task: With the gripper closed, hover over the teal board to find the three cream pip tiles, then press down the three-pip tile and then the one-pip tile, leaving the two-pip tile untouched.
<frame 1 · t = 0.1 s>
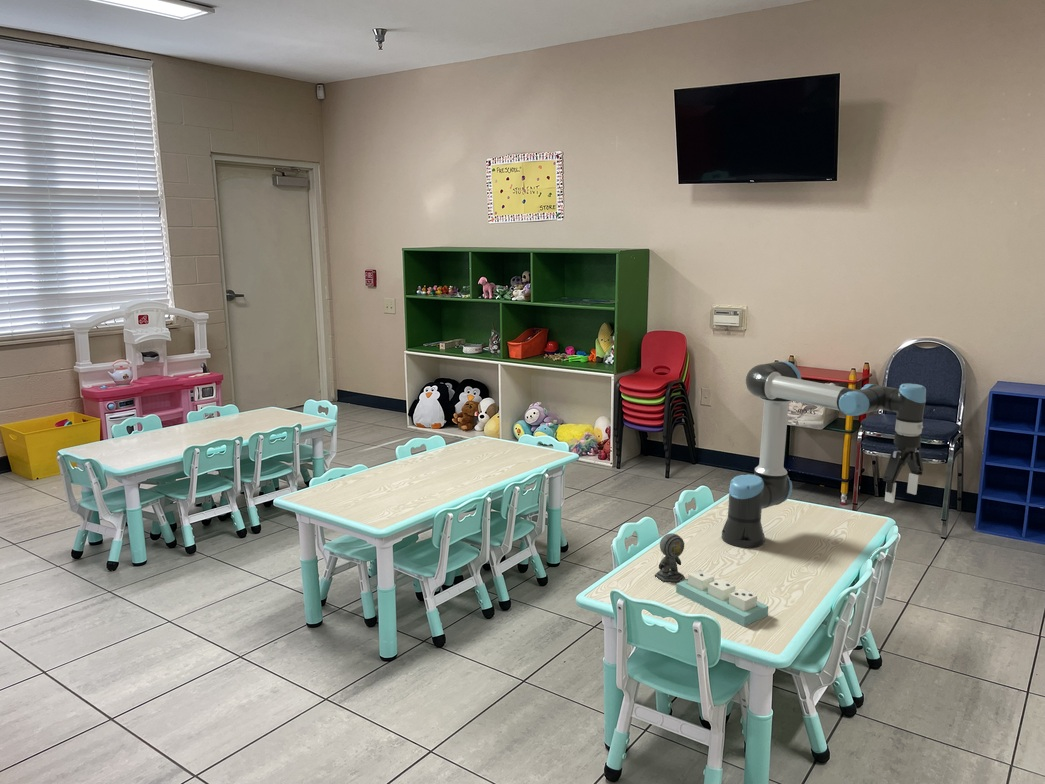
hand: (900, 497, 248), 28 cm above the table, fingers open, 13 cm apart
figurine: (669, 577, 254), on the table
tile 2: (721, 590, 235), point 4 cm above the table, slide at 0.0 cm
board: (720, 603, 236), on the table
tile 3: (742, 600, 229), point 4 cm above the table, slide at 0.0 cm
tile 1: (701, 580, 241), point 4 cm above the table, slide at 0.0 cm
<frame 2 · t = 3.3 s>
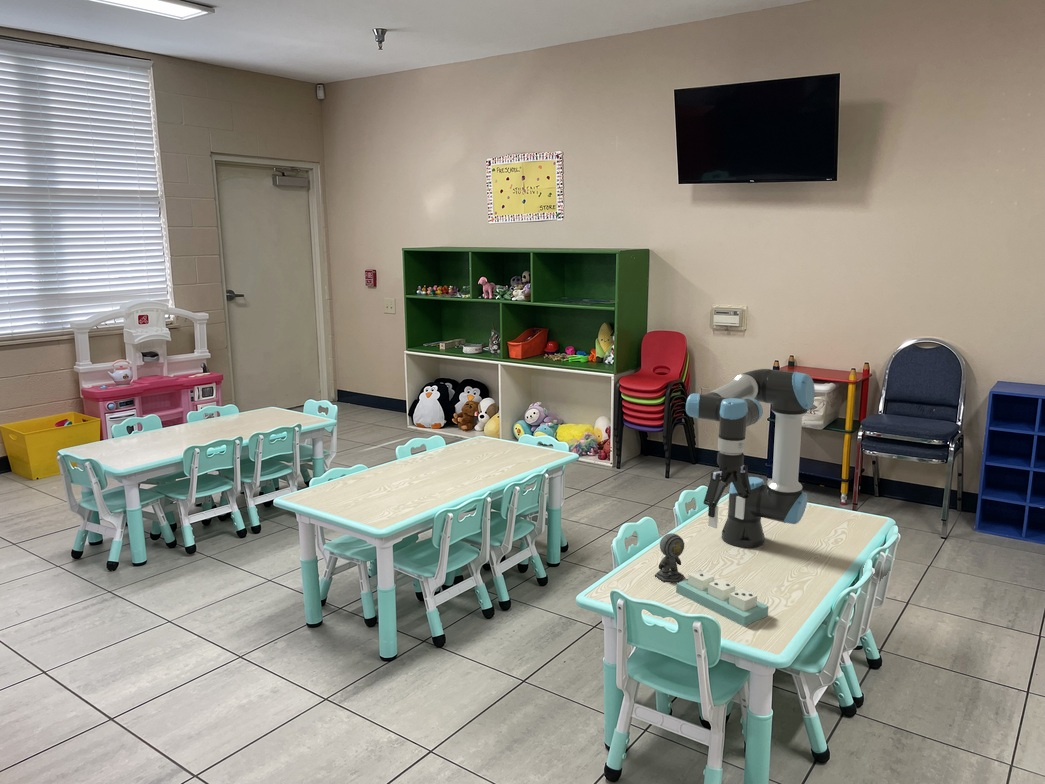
hand: (726, 522, 231), 26 cm above the table, fingers open, 11 cm apart
nothing on the table moved.
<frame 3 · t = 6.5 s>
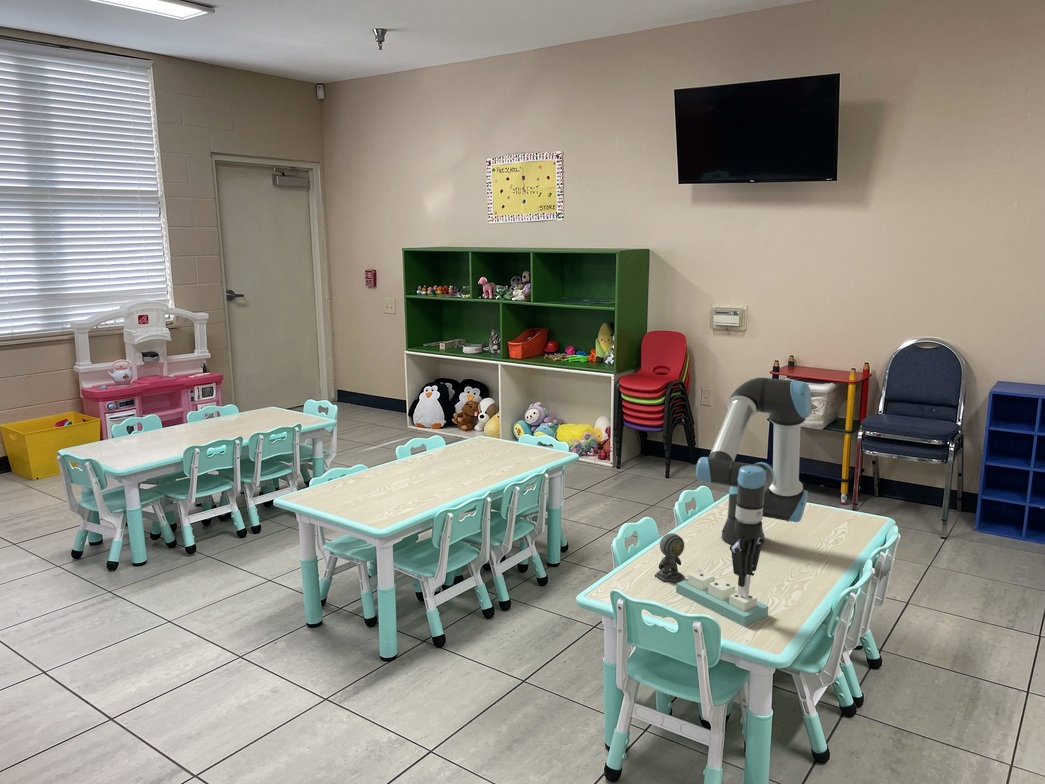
hand: (743, 595, 228), 6 cm above the table, fingers closed
tile 3: (742, 602, 229), point 4 cm above the table, slide at 0.6 cm, touching gripper
everything else where it was.
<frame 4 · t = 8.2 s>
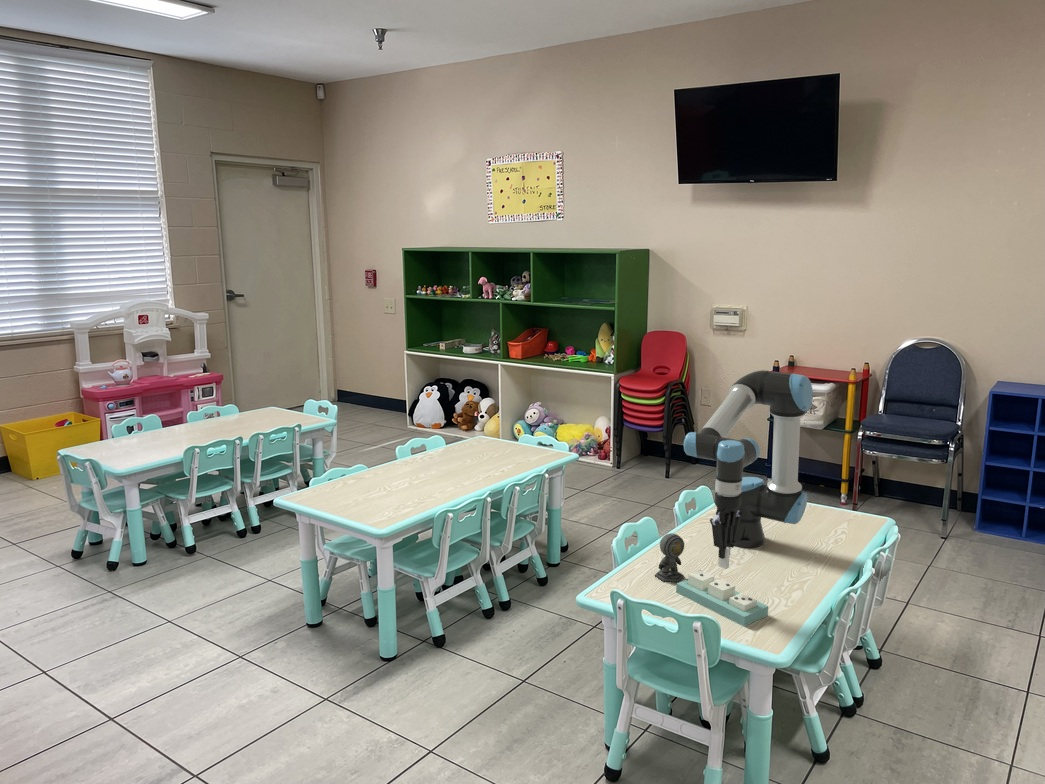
hand: (723, 566, 234), 12 cm above the table, fingers closed
tile 3: (742, 604, 229), point 3 cm above the table, slide at 1.4 cm
everything else where it was.
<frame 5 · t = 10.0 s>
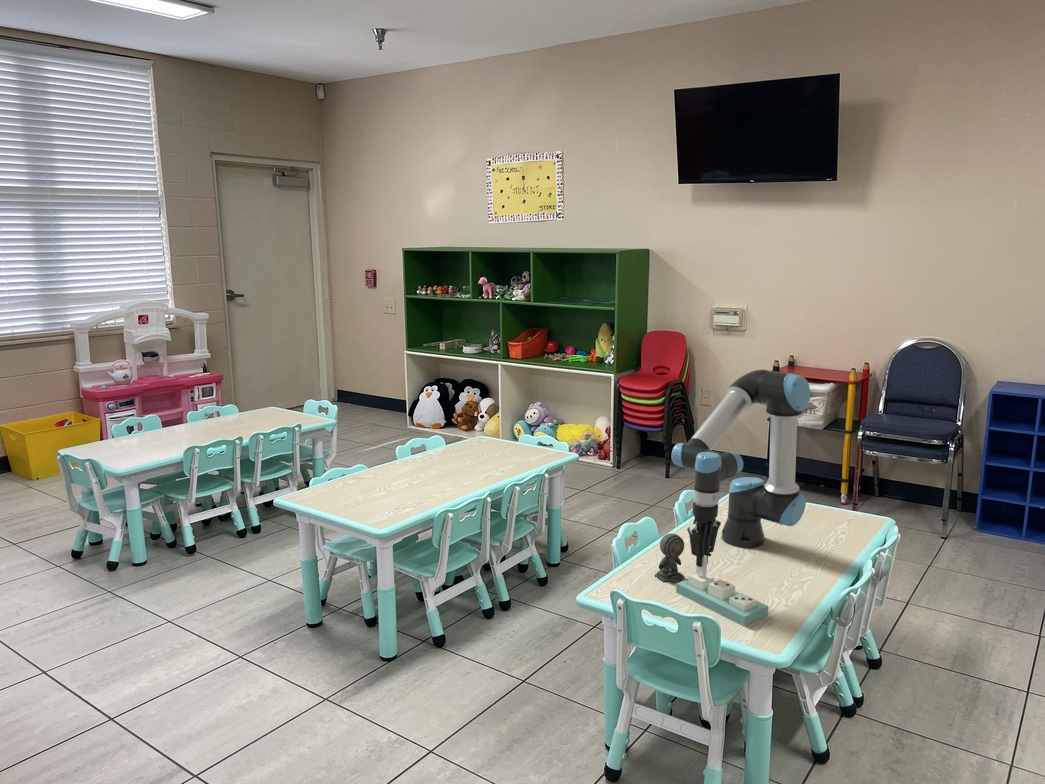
hand: (701, 575, 241), 6 cm above the table, fingers closed
tile 1: (700, 582, 241), point 4 cm above the table, slide at 0.4 cm, touching gripper
everything else where it was.
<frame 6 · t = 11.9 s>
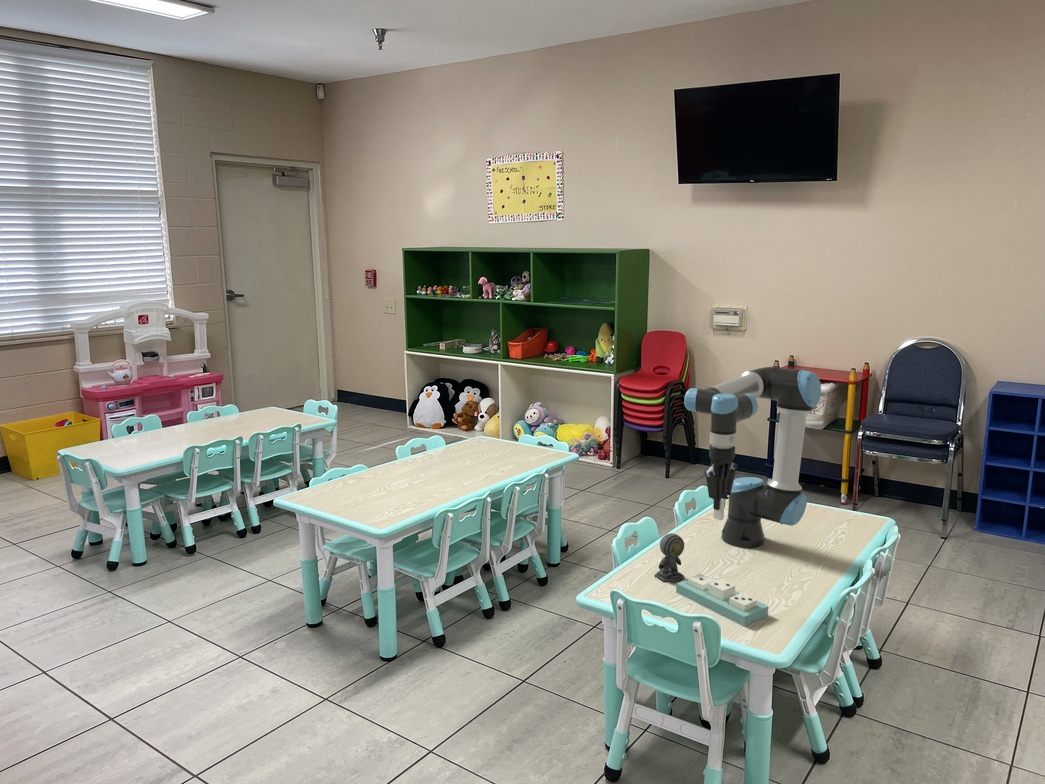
hand: (718, 518, 239), 24 cm above the table, fingers closed
tile 1: (700, 584, 242), point 3 cm above the table, slide at 1.4 cm
everything else where it was.
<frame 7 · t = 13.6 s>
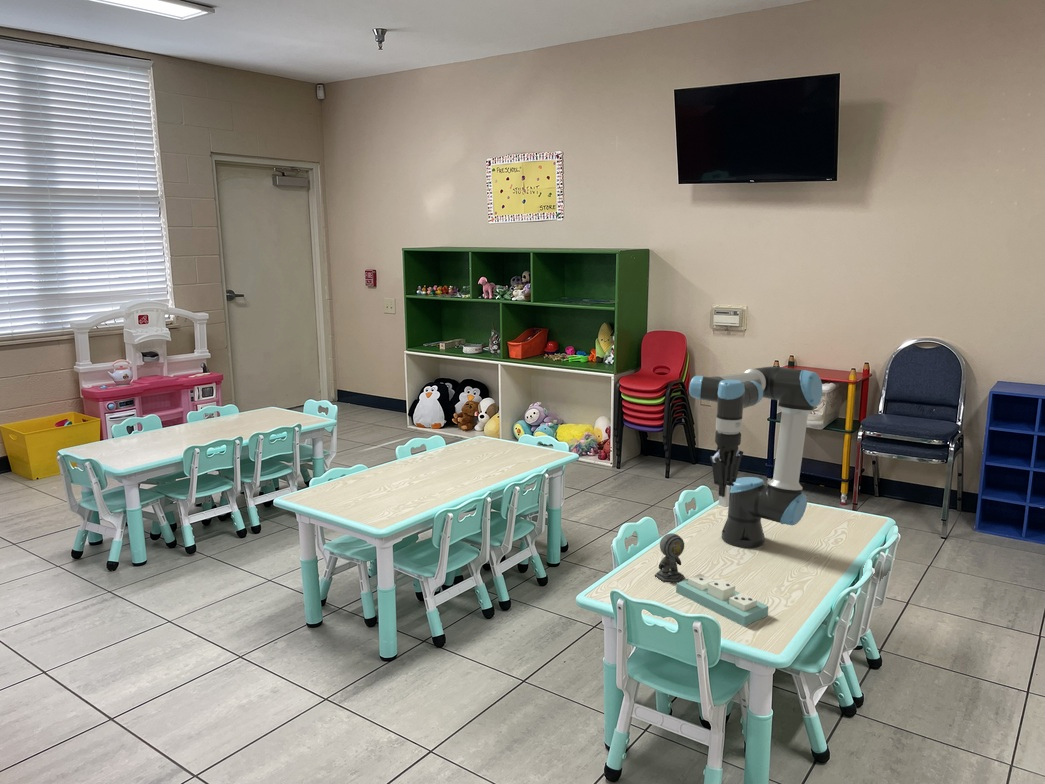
hand: (723, 505, 238), 28 cm above the table, fingers closed
nothing on the table moved.
at the end: tile 3 slide at 1.4 cm; tile 1 slide at 1.4 cm; tile 2 slide at 0.0 cm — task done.
